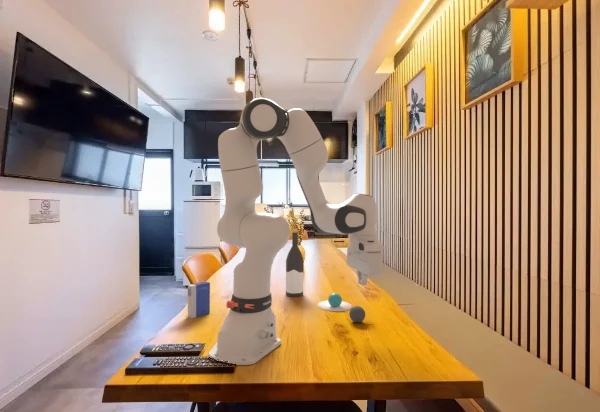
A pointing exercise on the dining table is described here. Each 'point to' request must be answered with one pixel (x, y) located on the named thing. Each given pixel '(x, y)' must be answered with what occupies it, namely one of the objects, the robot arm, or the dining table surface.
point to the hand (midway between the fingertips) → (362, 284)
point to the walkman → (198, 299)
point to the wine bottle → (294, 269)
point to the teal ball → (335, 300)
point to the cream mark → (328, 307)
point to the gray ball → (357, 314)
